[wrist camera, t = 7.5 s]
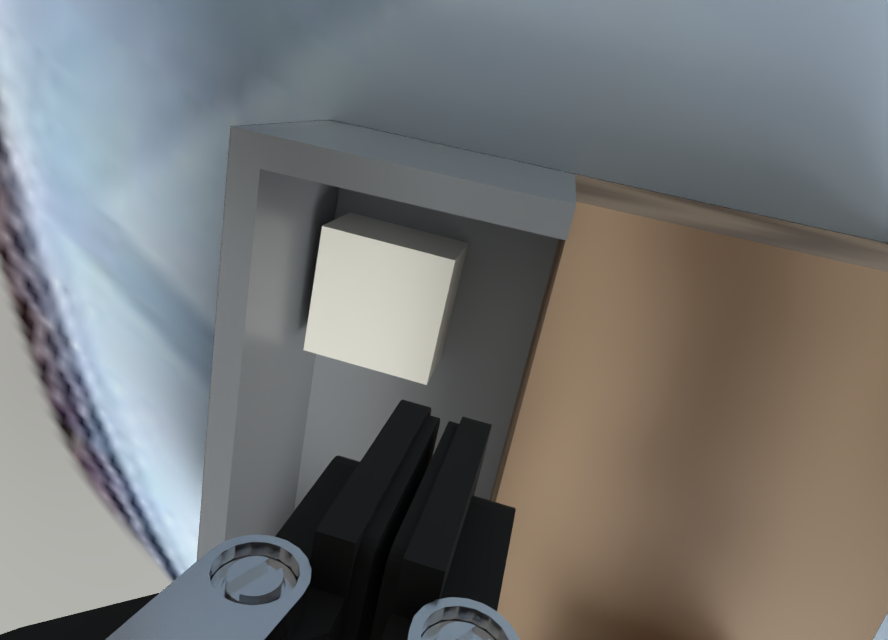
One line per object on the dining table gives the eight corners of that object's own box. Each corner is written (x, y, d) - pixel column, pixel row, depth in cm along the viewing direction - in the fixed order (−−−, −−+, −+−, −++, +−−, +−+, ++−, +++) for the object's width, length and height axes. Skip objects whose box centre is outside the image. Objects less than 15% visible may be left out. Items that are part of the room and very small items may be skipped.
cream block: (322, 225, 19) (349, 212, 21) (303, 350, 20) (331, 324, 22) (455, 260, 18) (468, 242, 21) (426, 384, 20) (442, 355, 22)
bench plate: (913, 249, 19) (1057, 310, 13) (707, 694, 25) (746, 863, 19) (575, 174, 20) (576, 201, 14) (457, 618, 26) (426, 758, 21)
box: (575, 174, 20) (576, 204, 14) (457, 618, 26) (423, 773, 20) (329, 119, 21) (230, 126, 15) (272, 562, 27) (186, 694, 21)
